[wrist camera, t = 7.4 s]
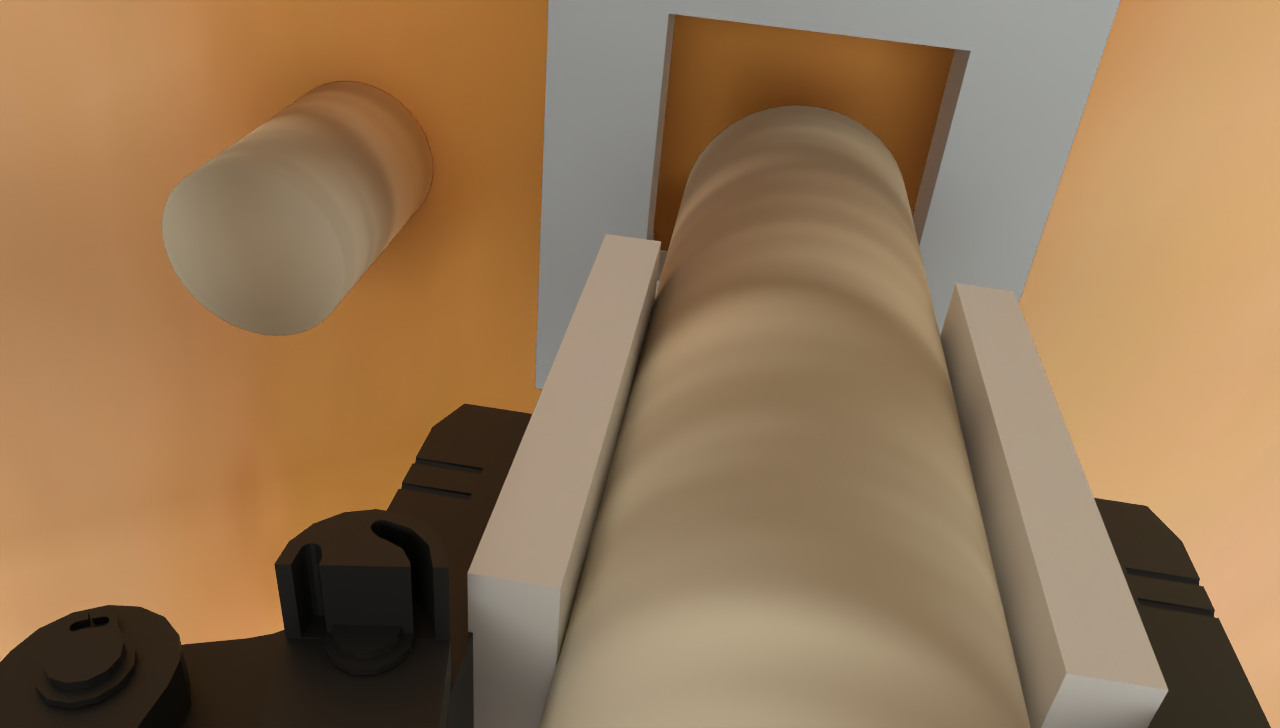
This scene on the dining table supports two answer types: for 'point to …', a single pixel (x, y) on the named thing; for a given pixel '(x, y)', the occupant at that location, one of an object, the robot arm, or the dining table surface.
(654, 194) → the square frame with posts
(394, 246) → the dining table surface
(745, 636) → the long dowel
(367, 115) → the short dowel
